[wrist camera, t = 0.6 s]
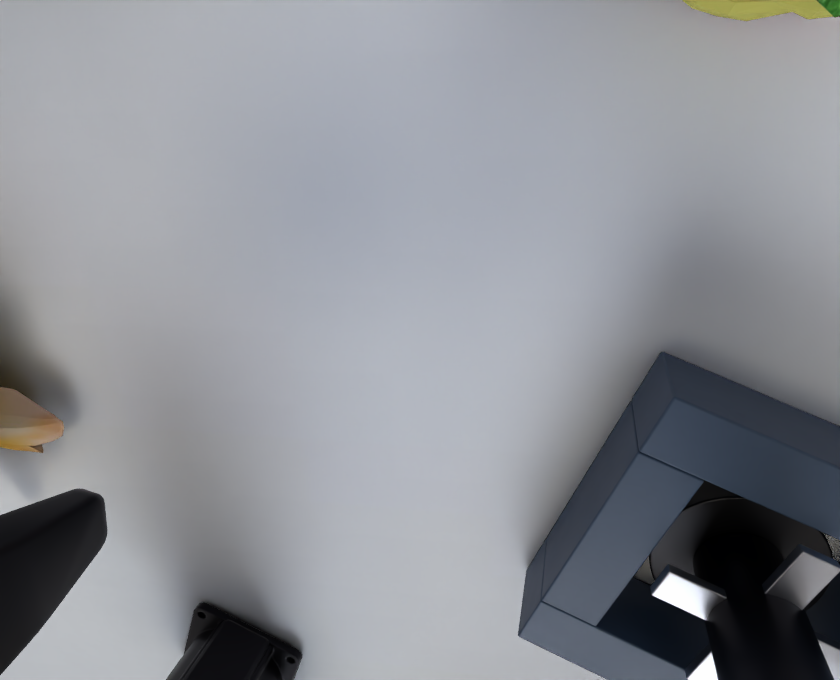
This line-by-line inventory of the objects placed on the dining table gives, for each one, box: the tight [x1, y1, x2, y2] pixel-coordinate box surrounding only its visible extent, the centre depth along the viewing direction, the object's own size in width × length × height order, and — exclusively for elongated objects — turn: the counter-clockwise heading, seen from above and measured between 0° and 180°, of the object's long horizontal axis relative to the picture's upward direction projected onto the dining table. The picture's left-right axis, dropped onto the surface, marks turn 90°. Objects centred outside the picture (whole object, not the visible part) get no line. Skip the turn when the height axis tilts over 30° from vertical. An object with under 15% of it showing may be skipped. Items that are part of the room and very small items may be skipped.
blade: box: [649, 480, 840, 680], centre depth 18 cm, size 7×7×10 cm
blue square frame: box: [518, 352, 840, 680], centre depth 21 cm, size 12×12×4 cm
